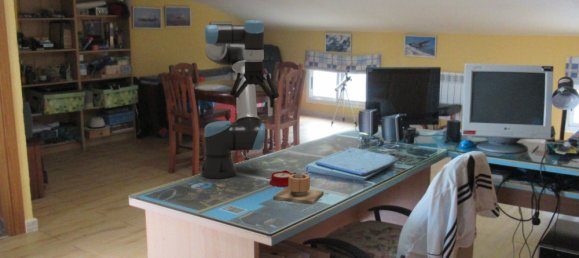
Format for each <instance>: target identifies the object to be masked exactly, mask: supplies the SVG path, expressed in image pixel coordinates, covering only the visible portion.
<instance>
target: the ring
mask: <svg viewBox="0 0 579 258" xmlns="http://www.w3.org/2000/svg"><path fill="white" fill-rule="evenodd" d="M302 174H303V178H301V179H298V178H295V174H293V173H292V175H290V176H289V186H287V187H288V189H289V190H290V191H293V192H306V191H308V190H311V176H309V175H308V174H305V173H302Z"/></svg>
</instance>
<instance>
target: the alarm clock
mask: <svg viewBox="0 0 579 258" xmlns="http://www.w3.org/2000/svg"><path fill="white" fill-rule="evenodd" d="M296 173H297V172H293V173H292V172H290V171H289V170H283V171H276V172H272V173H271V175H270V176H271V177H266V179H267V180H268V179H270V181H269V184H270V185H271V186H272V187H274V186H275V187H280V188H281V187H284V188H285V187H289V176H290V175H292V174H296Z"/></svg>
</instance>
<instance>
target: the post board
mask: <svg viewBox="0 0 579 258" xmlns="http://www.w3.org/2000/svg"><path fill="white" fill-rule="evenodd" d="M295 173H296V174H295V178H298V179H301V178H303V174H304V173H302V172H295ZM288 187H289V186H286V187H284V188H283V189H281V190H279V191H278V192H277V193H275V194H274V195H273V200H278V201H285V202H293V203H298V204H299V203H300V204H309V205H314V204H315V203H316V202H317V201H318V200H319V199H320V198H322V196H323V195H324V192H325V191H323V190H322V191H321V190H315V189H309V190H308V191H306V192H293V191H290V190H289V189H288Z"/></svg>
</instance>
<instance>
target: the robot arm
mask: <svg viewBox="0 0 579 258" xmlns="http://www.w3.org/2000/svg"><path fill="white" fill-rule="evenodd" d="M264 26H265V25H264V21H263V20H257V19H256V20H252V19H251V20H250V19H249V20H244V22H243V24H207V25H205V26H204V41H205V43H206V45H205V48H204V51H205V52H204V53H205V56H206V57H207V58H208V59H209V60H210V61H211V62H213V63H214V64H217V65H220V66H231V69H232V70H233V72H235V81H234V83H233V85H232V88H231V90H230V92H229V95H230V96H232V97H233V98H234V106H236V107H235V108H236V114H237V116H238V118H237V119H236V120H235V121H234V124H232V122H231V121H230V120H219V121H217V120H216V121H214V122H213V121H212V122H210V123H208V124H206V125H205V127H204V131H203V132H204V134H203V137H204V159H203V162H202V167H201V169H200V171H201V172H200V174H201V176H202V177H204V178H206V179H213V180H214V179H215V180H216V179H227V178H228V179H229V178H231V177H234V176H236V171H237V170H236V167H235V163H234V161H233V158H232V151H233V152H235V151H236V152H238V151H252V152H253V151H258V150H262V149H263V147H264V144H265V137H266V136H265V135H266V124H265V123H263V122H262V119H261V118H260V117H259V116H258V108H257V106H258V104H257V93H256V92H257V91H256V86H258V85H259V87H261V89H262V90H263V91H264V93H265V94H266V95H267V97H268V99H267V117H272V116H273V108H275V105H276V104H275V103H276V101H275V100H276V99H277V98H280V94H279V92H278V90H277V87H276V85H275V83H274V80H273V78H272V73H266V74H265V71H264V70H265V62H264V61H263V60H265V57H264V56H265V55H264V54H265V52H264V51H265V50H264V47H265V46H264V45H265V43H264V38H265V37H264V34H265V27H264ZM264 78H265V80H266V82H267V84H268V85H267V84H266V82H265V80H264ZM268 86H269V87H268Z"/></svg>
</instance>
